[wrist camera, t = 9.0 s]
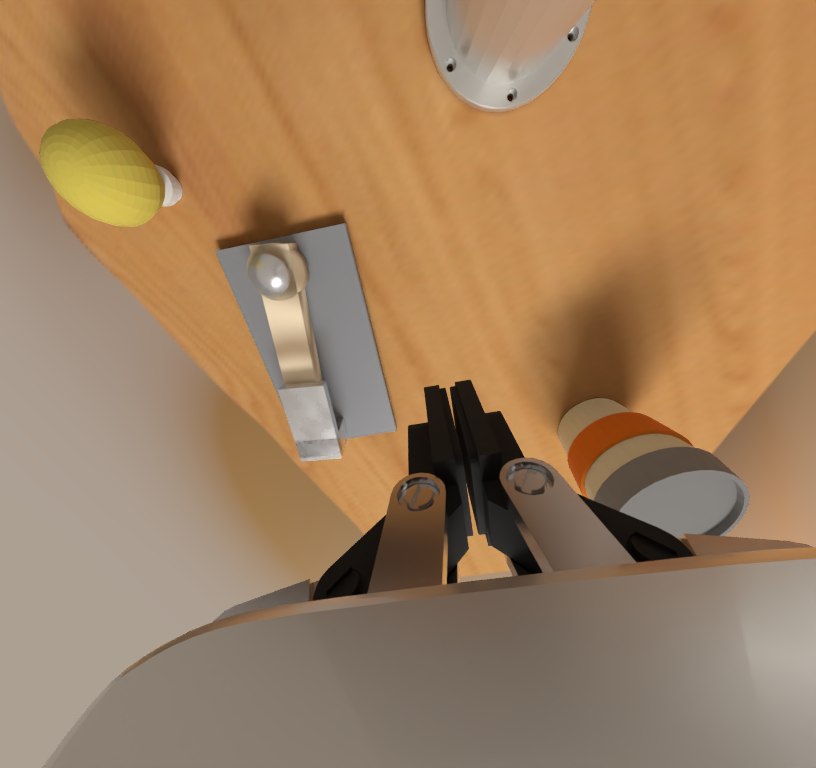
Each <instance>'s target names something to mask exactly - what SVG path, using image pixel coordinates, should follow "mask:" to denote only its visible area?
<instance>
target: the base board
mask: <svg viewBox="0 0 816 768" xmlns="http://www.w3.org/2000/svg"><path fill="white" fill-rule="evenodd" d="M277 242H280V243H296V244H297V249H298V250H299V251H300V252H301V254H302V255H303V256H304V258H305V259H306V261H307V264H308V267H309V272H310V276H309V281H308V284H307V286H306V288H305V291H306V296H307V302H308V307H309V312H310V317H311V323H312V328H313V333H314V338H315V343H316V349H317V354H318V359H319V364H320V370H321V375H322V380H323V381H326V383H327V387H328V391H329V395H330V399H331V403H332V407H333V411H334V415H335V418H344V422H345V426H346V431H347V435H348V437H347V439H348V438H354V437H360V436H367V435H373V434H379V433H386V432H392V431H396V430H397V426H396V422H395V418H394V414H393V410H392V406H391V402H390V398H389V393H388V389H387V385H386V381H385V377H384V373H383V369H382V365H381V361H380V357H379V353H378V349H377V345H376V341H375V337H374V333H373V329H372V325H371V321H370V317H369V313H368V308H367V304H366V300H365V296H364V292H363V288H362V284H361V280H360V276H359V272H358V268H357V264H356V260H355V256H354V252H353V248H352V244H351V240H350V236H349V232H348V228H347V223H343V224H339V225H334V226H329V227H325V228H320V229H315V230H311V231H306V232H301V233H297V234H292V235H287V236H283V237H278V238H274V239H269V240H264V241H260V242H255V243H250V244H246V245H241V246H236V247H232V248H227V249H223V250H218V251H215V252H216V255H217V257H218V259H219V261H220V264H221V266H222V268H223V271H224V273H225V275H226V277H227V280H228V282H229V284H230V287H231V289H232V291H233V293H234V296H235V298H236V300H237V303H238V305H239V307H240V309H241V312H242V314H243V316H244V319H245V321H246V323H247V325H248V328H249V330H250V332H251V335H252V337H253V339H254V341H255V344H256V346H257V348H258V351H259V353H260V355H261V358H262V360H263V362H264V364H265V367H266V369H267V371H268V374H269V376H270V378H271V380H272V383H273V385H274V387H275V390H276V392H277V394H278V396H279V399H280V401H281V398H280V395H279V392H278V389H279V388H280V386H281V385H284V381H283V377H282V373H281V369H280V365H279V361H278V357H277V353H276V349H275V346H274V342H273V338H272V334H271V330H270V326H269V322H268V318H267V314H266V310H265V307H264V303H263V299H262V295H261V294H260V293H259V292H258V291H257V290H256V289H255V288H254V286H253V285H252V283H251V282H250V280H249V277H248V273H247V261H248V258H249V255H250V253H251V252H250V248H249V246H250V245H260V244H268V243H277ZM281 403H282V401H281ZM282 406H283V404H282ZM283 408H284V407H283Z"/></svg>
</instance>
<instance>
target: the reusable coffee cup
mask: <svg viewBox="0 0 816 768" xmlns="http://www.w3.org/2000/svg"><path fill="white" fill-rule="evenodd" d="M558 436H559V440H560V442H561V444H562V446H563V448H564V450H565V452H566V454H567V456H568V464H569V468H570V470H571V472H572V474H573V476H574V478H575V480H576V482H577V484H578V486H579V488H580V490H581V493H582V495H583V496H584V497H586V498H589V499H591V500H593V501H596V502H598V503H601V504H603V505H605V506H608V507H610V508H613V509H615V510H617V511H620V512H622V513H625V514H627V515H629V516H632V517H634V518H637V519H639V520H641V521H644V522H646V523H649V524H651V525H653V526H656V527H658V528H660V529H662V530H664V531H666V532H668V533H670V534H672V535H673V536H674V537H676V538H682V536H683V533H685V534H698V535H712V536H724V535H725V534H727V533H728V532H729V531H731V530H732V529H733V528H734V527H735V526H736V524H738V523H739V521H740V520H741V519H742V517H743V516H744V514H745V513H746V510H747V507H748V505H749V498H750V495H749V491H748V488H747V486H746V485H745V484H744V482H743V481H742V480H741V479H740V478H739V477H737V476H736V475H735V474H734V473H733V472H732V471H731V470H730V469H729V468H728V467H727V466H725V465H724V464H723V463H722V462H721V461H720V460H719V459H718V458H717V457H715V456H714V455H712V454H711V453H710V452H707V451H704V450H702V449H699V448H694V447H693V445H692V444H691V443H690V441H689V440H688V439H686V438H685V437H683V436H682V435H680V434H678V433H677V432H675V431H673V430H671V429H670V428H668V427H666V426H664V425H663V424H661V423H659V422H657V421H655V420H654V419H652V418H650V417H648V416H646V415H643V414H641V413H635V412H632V411H631V410H629V409H627V408H626V407H624V406H622V405H620V404H619V403H617V402H615V401H613V400H610V399H606V398H595V399H589V400H586V401H583V402H581V403H579V404H577V405H576V406H574V407H573V408H571V409H570V410H569V411H568V412H567V413H566V414H565V415H564V417H563V418H562V420H561V422H560V424H559V428H558Z"/></svg>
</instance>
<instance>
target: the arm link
mask: <svg viewBox="0 0 816 768" xmlns="http://www.w3.org/2000/svg"><path fill="white" fill-rule="evenodd" d="M249 248H250V252H251V253H250V255H249V258H248V261H247V273H248V265H249V263H250V261H251V260H252V259H253V258H254V257H255V256H257V255H260V254H271V255H274V256H276V257H278V258H280V259H281V260H282V261H283V262H284V263H285V265H286V266H287V268H288V270H289V273H290V283H289V286H288V288H287V289H286V290H285V291H284V292H283V293H281V294H279V295H276V296H268V295H265V294H262V293H261V292H259V291H258V290H257V289H256V290H257V291H258V292H259V293H260V294H261V295H262V299H263V303H264V307H265V310H266V314H267V318H268V322H269V326H270V330H271V334H272V338H273V342H274V346H275V349H276V353H277V357H278V361H279V365H280V369H281V373H282V377H283V381H284V385H285V384H296V383H307V382H317V381H323V380H322V375H321V370H320V364H319V359H318V354H317V349H316V343H315V338H314V333H313V328H312V323H311V317H310V312H309V307H308V302H307V296H306V291H305V288H306V286H307V284H308V281H309V276H310V272H309V267H308V264H307V261H306V259H305V258H304V256H303V255H302V254H301V252H300V251H299V250H298V249H297V244H296V243H280V242H277V243H268V244H260V245H250V246H249ZM254 288H255V287H254Z"/></svg>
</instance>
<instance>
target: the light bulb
mask: <svg viewBox="0 0 816 768" xmlns="http://www.w3.org/2000/svg"><path fill="white" fill-rule="evenodd" d="M39 154H40V159H41V165H42V167H43V169H44V172H45V174H46V176H47V178H48V180H49V181H50V182H51V184H52V185H53V187H54V188H55V189H56V191H57V192H58V193H59V194H60V195H61V196H62V197H63V198H64V199H65V200H66V201H67V202H68V203H69V204H71V205H72V206H73V207H75V208H76V209H78V210H79V211H81V212H83V213H84V214H86V215H88V216H89V217H91V218H93V219H95V220H99V221H102V222H105V223H108V224H111V225H115V226H139V225H141V224H144V223H146V222H148V221H150V219H151V218H152V217H153V216H154V215H155V214H156V213H157V211H158V210H159V209H160V208H161V206H172V205H174V204H175V203H176V202H177V201H179V200H180V199H181V197H182V187H181V184H180V183H179V181H178V180H177V179H176V178H175V177H174V176H173V175H172V174H171V173H170V172H169V171H168V170H166V169H165V168H163V167H161V166H158V165H154V164H153V162H152V161H151V160H150V159H149V158H148V157H147V156H146V154H145V153H144V152H143V151H142V150H141V149H140V148H139V147H138V146H137V144H136V143H135V142H134V141H133V140H132V139H130V138H129V137H127V136H126V135H124V134H123V133H122V132H120V131H119V130H117V129H115V128H113V127H110V126H108V125H105V124H102V123H99V122H97V121H93V120H89V119H66V120H63V121H61V122H59V123H57V124H55V125H53V126H51V127H50V128H48V129H47V131H46V133H45V134H44V136H43V137H42V139H41V144H40V151H39Z"/></svg>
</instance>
